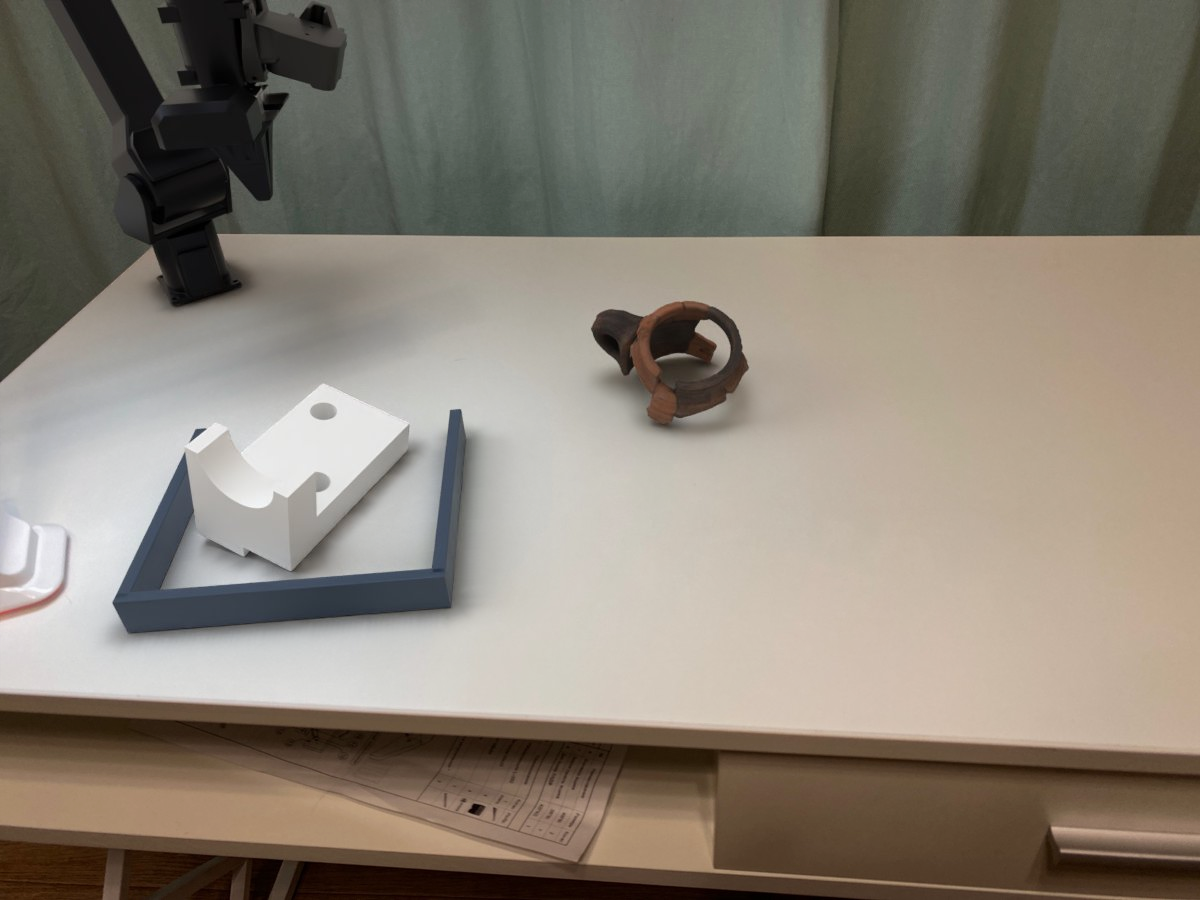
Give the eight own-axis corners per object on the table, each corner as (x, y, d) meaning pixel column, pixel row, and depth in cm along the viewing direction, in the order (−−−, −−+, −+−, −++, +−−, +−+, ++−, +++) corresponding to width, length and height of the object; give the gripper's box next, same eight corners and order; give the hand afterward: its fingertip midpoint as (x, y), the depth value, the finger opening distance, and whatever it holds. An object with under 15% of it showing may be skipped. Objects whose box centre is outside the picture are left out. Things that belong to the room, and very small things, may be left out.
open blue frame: (206, 456, 67) (195, 428, 66) (466, 436, 68) (461, 408, 66) (127, 633, 54) (111, 603, 53) (451, 607, 54) (444, 576, 53)
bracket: (291, 581, 58) (287, 497, 53) (197, 532, 59) (184, 446, 54) (406, 459, 67) (412, 378, 62) (323, 420, 69) (322, 337, 64)
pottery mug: (749, 363, 75) (770, 309, 67) (711, 466, 71) (730, 422, 63) (607, 313, 76) (612, 254, 68) (563, 412, 72) (563, 362, 65)
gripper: (296, 3, 57) (350, 242, 67) (344, -52, 72) (382, 150, 81) (111, 16, 57) (192, 254, 66) (197, -42, 72) (253, 159, 81)
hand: (265, 199), depth 74 cm, fingers closed
